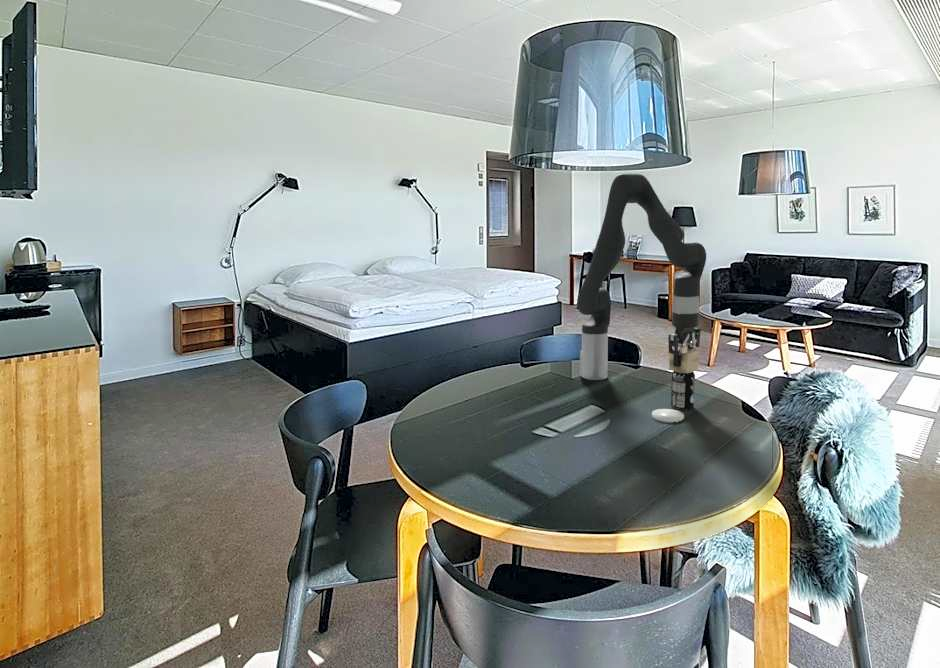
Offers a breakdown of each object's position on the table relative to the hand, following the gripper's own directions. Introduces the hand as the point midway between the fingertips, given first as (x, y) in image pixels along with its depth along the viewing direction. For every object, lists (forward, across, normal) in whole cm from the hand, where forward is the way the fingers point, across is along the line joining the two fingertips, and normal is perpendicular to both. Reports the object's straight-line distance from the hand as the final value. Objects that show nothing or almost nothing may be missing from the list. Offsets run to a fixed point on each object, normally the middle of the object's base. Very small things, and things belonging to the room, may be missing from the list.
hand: (683, 364), depth 169 cm
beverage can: (+14, 0, 0) cm, 14 cm away
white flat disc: (+14, +11, +2) cm, 18 cm away
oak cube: (+2, 0, 0) cm, 2 cm away
